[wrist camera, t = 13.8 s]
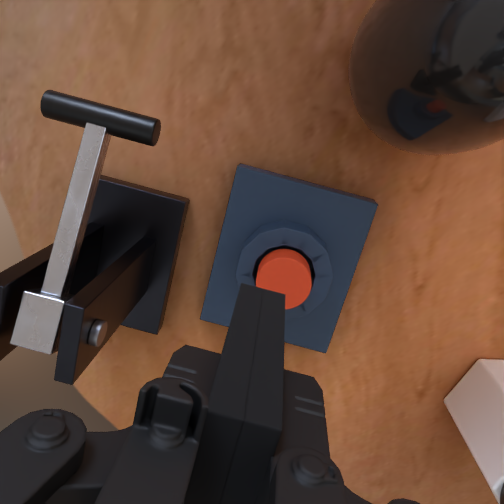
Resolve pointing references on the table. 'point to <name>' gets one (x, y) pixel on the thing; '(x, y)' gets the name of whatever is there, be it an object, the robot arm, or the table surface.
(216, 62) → the table surface
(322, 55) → the table surface
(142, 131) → the tap lever
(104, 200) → the lever stand
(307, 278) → the button
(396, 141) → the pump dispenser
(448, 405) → the jar
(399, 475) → the table surface
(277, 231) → the button block
